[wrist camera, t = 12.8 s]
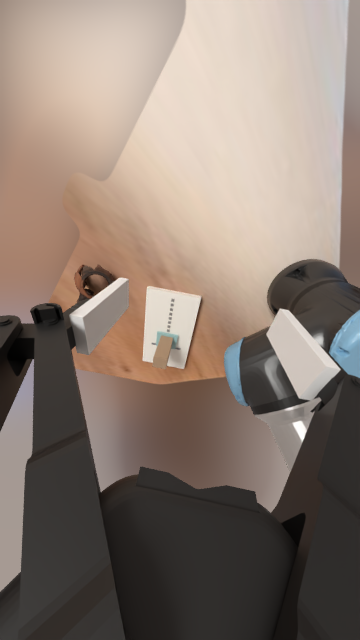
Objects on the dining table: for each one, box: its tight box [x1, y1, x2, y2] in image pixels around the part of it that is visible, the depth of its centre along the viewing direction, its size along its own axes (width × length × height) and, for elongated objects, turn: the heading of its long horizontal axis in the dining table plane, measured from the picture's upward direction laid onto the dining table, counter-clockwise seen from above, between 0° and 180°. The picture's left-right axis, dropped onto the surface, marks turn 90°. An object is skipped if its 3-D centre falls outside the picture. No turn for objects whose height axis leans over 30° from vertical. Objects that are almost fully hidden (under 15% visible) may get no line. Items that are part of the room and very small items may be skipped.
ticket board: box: [143, 286, 201, 369], centre depth 52 cm, size 14×26×2 cm, turn 171°
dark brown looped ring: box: [74, 265, 114, 303], centre depth 45 cm, size 12×10×8 cm
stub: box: [152, 331, 178, 369], centre depth 48 cm, size 6×5×10 cm
